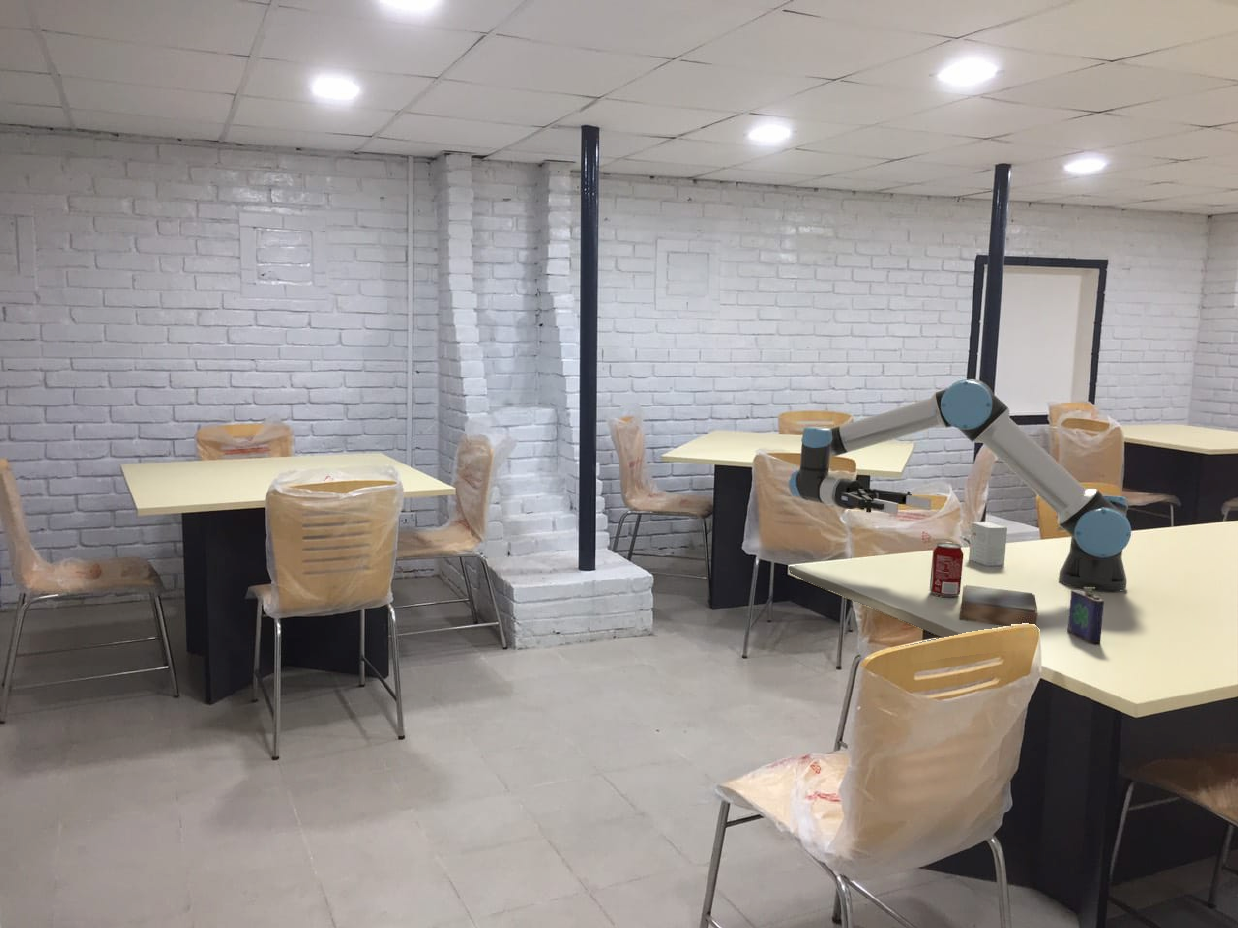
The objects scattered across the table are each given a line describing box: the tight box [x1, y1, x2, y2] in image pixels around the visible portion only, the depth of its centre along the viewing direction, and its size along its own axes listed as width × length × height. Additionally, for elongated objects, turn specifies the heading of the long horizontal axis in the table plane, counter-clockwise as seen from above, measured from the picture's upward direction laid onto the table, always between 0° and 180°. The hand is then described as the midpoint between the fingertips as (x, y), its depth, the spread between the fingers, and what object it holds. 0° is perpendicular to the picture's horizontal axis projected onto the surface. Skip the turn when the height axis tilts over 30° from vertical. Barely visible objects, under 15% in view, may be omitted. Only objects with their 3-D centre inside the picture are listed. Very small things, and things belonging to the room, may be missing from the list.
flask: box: [1066, 587, 1105, 646], centre depth 197 cm, size 9×3×11 cm, turn 8°
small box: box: [968, 521, 1008, 567], centre depth 262 cm, size 8×6×10 cm
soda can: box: [929, 541, 965, 599], centre depth 226 cm, size 7×7×12 cm
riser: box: [959, 584, 1039, 626], centre depth 212 cm, size 15×16×4 cm
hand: (914, 506), depth 232 cm, fingers open, 13 cm apart
